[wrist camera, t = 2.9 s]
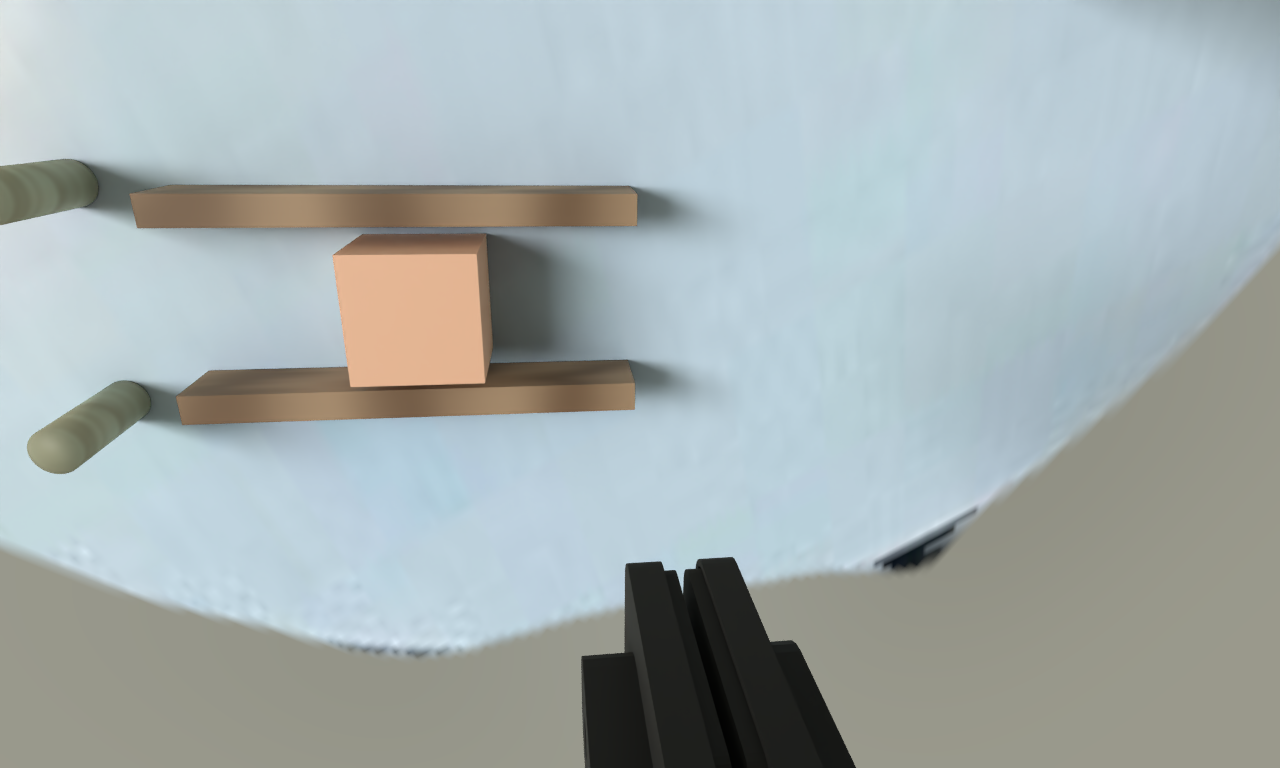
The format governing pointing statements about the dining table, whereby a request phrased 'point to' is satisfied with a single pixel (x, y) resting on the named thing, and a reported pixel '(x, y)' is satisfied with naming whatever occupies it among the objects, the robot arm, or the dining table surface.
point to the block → (415, 309)
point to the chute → (328, 389)
